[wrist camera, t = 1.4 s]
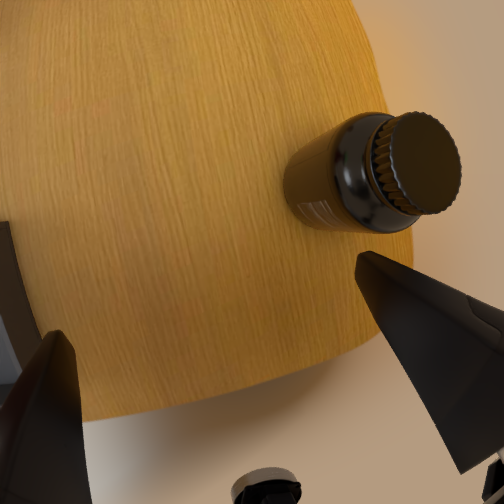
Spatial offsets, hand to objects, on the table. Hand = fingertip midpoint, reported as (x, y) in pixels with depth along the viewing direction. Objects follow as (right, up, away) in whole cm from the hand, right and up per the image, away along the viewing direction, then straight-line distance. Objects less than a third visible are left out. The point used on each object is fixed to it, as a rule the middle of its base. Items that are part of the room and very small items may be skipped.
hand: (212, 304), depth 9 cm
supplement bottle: (+6, +6, +16) cm, 18 cm away
